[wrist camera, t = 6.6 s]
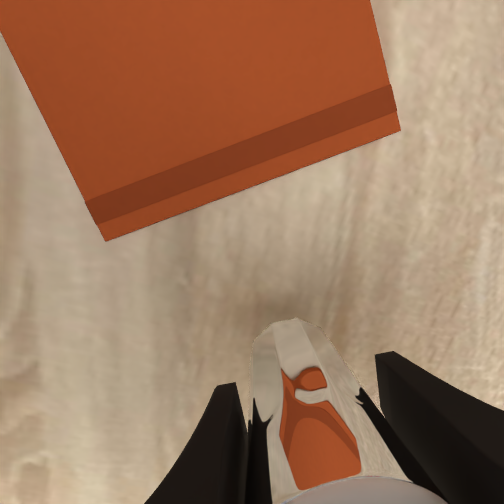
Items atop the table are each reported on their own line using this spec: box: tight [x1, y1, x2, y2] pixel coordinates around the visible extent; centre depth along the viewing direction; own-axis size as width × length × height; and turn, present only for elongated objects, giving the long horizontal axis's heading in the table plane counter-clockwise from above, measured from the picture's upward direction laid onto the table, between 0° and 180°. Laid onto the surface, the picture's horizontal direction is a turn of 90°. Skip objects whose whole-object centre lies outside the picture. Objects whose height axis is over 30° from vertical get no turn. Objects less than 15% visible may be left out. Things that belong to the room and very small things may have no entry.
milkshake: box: [244, 318, 450, 504], centre depth 10 cm, size 4×5×10 cm
